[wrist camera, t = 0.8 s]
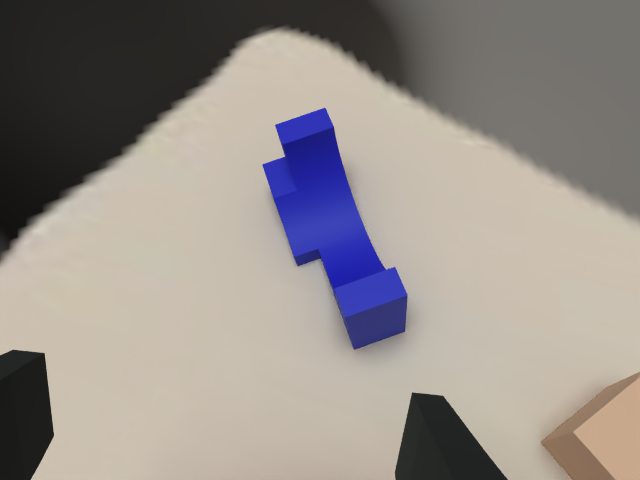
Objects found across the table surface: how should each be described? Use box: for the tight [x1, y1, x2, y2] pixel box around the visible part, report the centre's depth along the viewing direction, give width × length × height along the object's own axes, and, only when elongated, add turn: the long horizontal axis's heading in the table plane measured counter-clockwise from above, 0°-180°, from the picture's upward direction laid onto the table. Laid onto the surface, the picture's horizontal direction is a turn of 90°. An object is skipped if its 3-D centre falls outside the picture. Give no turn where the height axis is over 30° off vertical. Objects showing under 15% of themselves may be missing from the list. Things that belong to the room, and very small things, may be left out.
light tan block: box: [541, 372, 640, 480], centre depth 21 cm, size 4×4×5 cm
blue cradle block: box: [263, 108, 407, 349], centre depth 28 cm, size 12×4×6 cm, turn 18°
